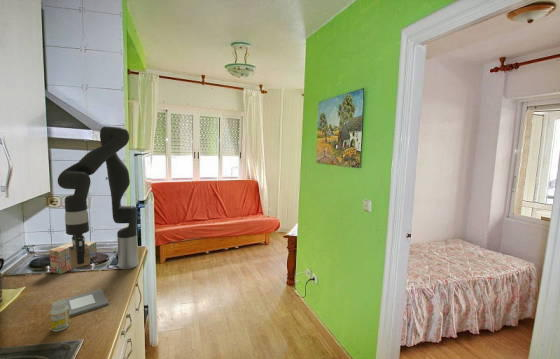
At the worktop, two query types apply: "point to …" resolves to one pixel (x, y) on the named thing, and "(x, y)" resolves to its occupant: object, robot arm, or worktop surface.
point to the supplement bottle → (59, 315)
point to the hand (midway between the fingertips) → (79, 260)
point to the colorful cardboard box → (66, 257)
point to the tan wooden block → (74, 257)
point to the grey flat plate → (86, 302)
